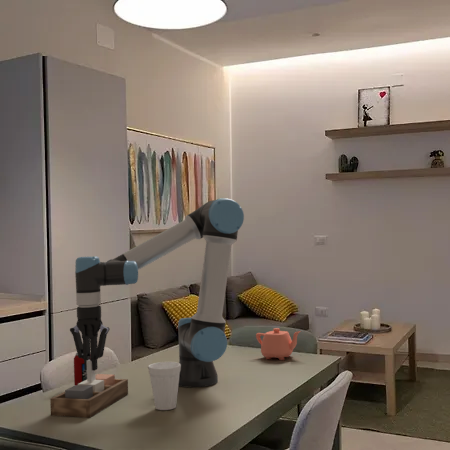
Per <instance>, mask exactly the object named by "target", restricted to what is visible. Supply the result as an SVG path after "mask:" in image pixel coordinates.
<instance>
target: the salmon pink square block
mask: <svg viewBox="0 0 450 450" xmlns="http://www.w3.org/2000/svg"><path fill="white" fill-rule="evenodd" d="M95 377H96V380H104V385H106V386H113V385H115V379H116V375H115V374H111V373H109V374H106V373H104V374H103V373H102V374H101V373H97V374H95Z"/></svg>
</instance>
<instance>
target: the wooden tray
mask: <svg viewBox="0 0 450 450" xmlns="http://www.w3.org/2000/svg"><path fill="white" fill-rule="evenodd" d="M128 395H129V379H128V378H115V385H113V386H106V385H104V391H102V392H93V397H91V398H90V399H71V398H65V391H63V392H61V393H58V394H57V395H55V396H53V397H51V398H50V399H49V400H50V401H49V402H50V416H54V417H67V418H70V417H71V418H85V419H86V418H88V419H91V418H92V417H94V416H95V415H97V414H99V413H100V412H102V411H103V410H105V409H107V408H109V407H110V406H112V405H113V404H115V403H116V402H118V401H120V400H122V399H123V398H125V397H126V396H128Z"/></svg>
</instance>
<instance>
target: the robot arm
mask: <svg viewBox="0 0 450 450" xmlns="http://www.w3.org/2000/svg"><path fill="white" fill-rule="evenodd" d="M244 220H245V214H244V209H243V208H242V207H241V205H240V204H239V203H238V202H237V201H235V200H233V199H231V198H227V197H226V198H225V197H221V198H218V199H214V200H210V201H207V202H206V203H203V204H202V205H201V206H199V207H198V208H197V209H195V210H194V211H192V212H191V213H189V214H187V215H185V219H184V220H181V221H180V222H178V223H176V224H174V225H173V226H170V227H169V228H167V229H166V230H163V231H162V232H160V233H158V234H156V235H154V236H153V237H151V238H149V239H147V240H146V241H144V242H142V243H140V244H137V245H136V246H135V247H132V248H131V249H129V250H127V251H125V252H124V253H122V254H120V255H118V256H116V257H115V258H111V259H109V260H107V261H105V262H104V261H100V257H99V256H97V255H96V256H79V257H77V258H76V259H75V265H74V266H75V272H74V275H75V276H74V277H75V294H76V295H75V296H76V300H75V301H76V306H77V307H76V318H77V321H76V325H74V326H73V327H71V328H69V331H70V333H71V335H72V338H73V341H74V342H73V343H74V345H75V349H76V353H77V354H78V357H79V358H82V359H84V369H85V370H87V382H92V381H94V380H96V377H95V375H96V371H97V370H98V359H101V358H102V357H104V351H105V348H106V341H107V335H108V333H109V332H110V327H109V326H108V327H107V326H105V325H104V324H103V321H102V306H101V303H102V301H101V296H102V295H101V294H102V293H101V286H103V287H104V286H105V287H106V286H123V285H125V286H128V285H133V284H137V283H138V280H139V270H142V269H143V268H145V267H146V266H148V265H150V264H152V263H154V262H156V261H158V260H159V259H161V258H162V257H164V256H166V255H169V254H170V253H172V252H174V251H175V250H177V249H179V248H181V247H182V246H184V245H186V244H188V243H190V242H192V241H193V240H195V239H196V240H201V239H204V241H205V248H204V256H203V257H204V258H203V263H202V273H201V277H200V278H201V279H200V287H199V293H198V301H197V308H196V313H195V314H193V315H192V316H191V317H184V318H183V317H182V318H180V319H179V320H178V325H177V329H178V330H177V331H178V334H177V335H178V355H179V356H178V359H179V361H178V363H180V364H181V370H180V375H179V384H178V387H184V388H201V387H202V388H203V387H210V386H212V385H213V386H214V385H215V384H217V383H218V381H219V380H218V379H219V377H218V371H217V370H216V367H215V364H214V362H215V361H217V360H219V359H220V358H222V357H223V356H224V354H225V353H226V351H227V347H228V339H227V336H226V333H225V331H226V323H227V321H226V319H225V318H224V317H223V312H224V304H225V299H226V297H225V296H226V292H227V290H226V289H227V281H228V275H229V268H230V267H229V266H230V261H231V260H230V259H231V252H232V245H234V243H236V242H237V240H238V236H239V230H240V229H241V227H242V226H243V225H244ZM99 332H100V333H99ZM90 352H91V356H90ZM90 358H91V359H90Z"/></svg>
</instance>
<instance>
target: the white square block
mask: <svg viewBox="0 0 450 450" xmlns="http://www.w3.org/2000/svg"><path fill="white" fill-rule="evenodd" d="M78 385H82V386H93V392H102V391H104V380H94V381H92V382H87V380H85V381H83V382H81V383H79V384H78Z"/></svg>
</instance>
